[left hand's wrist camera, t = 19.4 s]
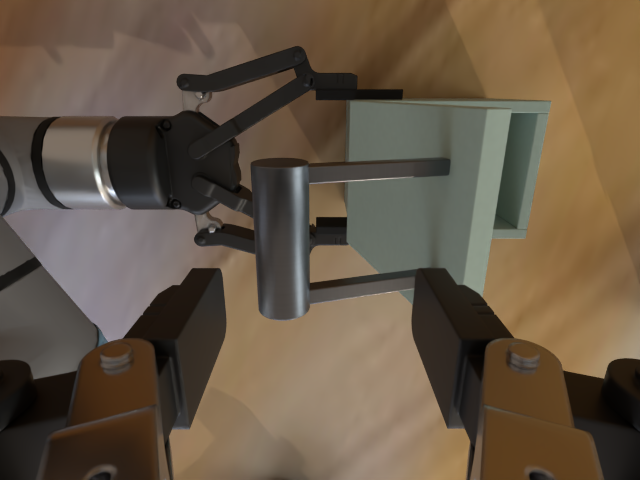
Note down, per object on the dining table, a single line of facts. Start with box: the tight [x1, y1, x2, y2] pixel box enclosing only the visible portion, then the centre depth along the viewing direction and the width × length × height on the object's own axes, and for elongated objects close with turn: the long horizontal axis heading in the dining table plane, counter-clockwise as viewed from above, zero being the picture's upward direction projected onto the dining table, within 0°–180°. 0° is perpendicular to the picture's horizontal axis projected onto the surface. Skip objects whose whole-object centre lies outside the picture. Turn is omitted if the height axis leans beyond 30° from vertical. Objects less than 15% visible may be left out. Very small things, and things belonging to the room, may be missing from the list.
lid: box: [251, 101, 512, 320], centre depth 22 cm, size 14×10×9 cm
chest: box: [344, 98, 551, 238], centre depth 35 cm, size 13×10×11 cm
